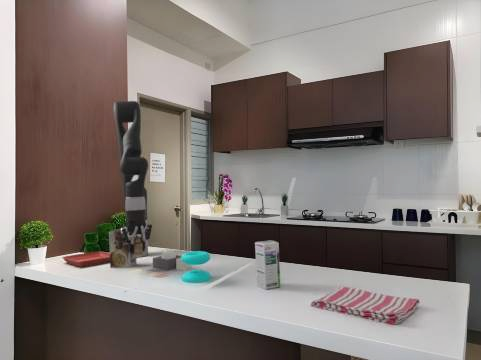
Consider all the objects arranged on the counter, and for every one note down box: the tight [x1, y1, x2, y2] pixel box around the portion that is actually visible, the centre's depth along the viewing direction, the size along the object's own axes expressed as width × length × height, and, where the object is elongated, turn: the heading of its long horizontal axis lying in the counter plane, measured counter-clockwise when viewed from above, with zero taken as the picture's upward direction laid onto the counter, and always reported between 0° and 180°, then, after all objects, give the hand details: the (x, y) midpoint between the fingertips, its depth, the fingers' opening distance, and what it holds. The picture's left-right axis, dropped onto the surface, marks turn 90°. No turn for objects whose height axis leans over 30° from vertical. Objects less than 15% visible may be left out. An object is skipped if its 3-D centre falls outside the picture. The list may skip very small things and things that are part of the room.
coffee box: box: [108, 228, 138, 269], centre depth 152 cm, size 9×6×16 cm
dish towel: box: [310, 286, 421, 326], centre depth 98 cm, size 17×23×4 cm
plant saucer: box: [61, 251, 110, 268], centre depth 167 cm, size 18×18×3 cm
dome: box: [161, 248, 177, 259], centre depth 148 cm, size 6×6×6 cm
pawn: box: [132, 236, 143, 255], centre depth 143 cm, size 4×4×7 cm
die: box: [175, 258, 192, 271], centre depth 144 cm, size 4×4×4 cm
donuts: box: [181, 250, 212, 284], centre depth 128 cm, size 10×10×10 cm
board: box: [129, 254, 182, 279], centre depth 143 cm, size 20×22×5 cm
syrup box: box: [254, 240, 281, 290], centre depth 120 cm, size 6×6×14 cm
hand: (136, 252), depth 143 cm, fingers closed on pawn, 4 cm apart
